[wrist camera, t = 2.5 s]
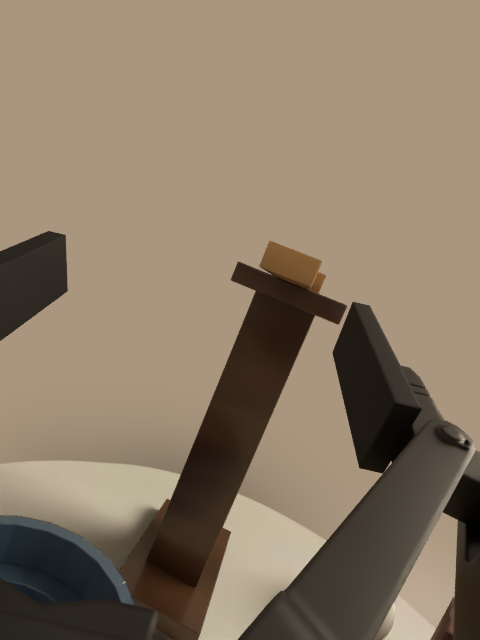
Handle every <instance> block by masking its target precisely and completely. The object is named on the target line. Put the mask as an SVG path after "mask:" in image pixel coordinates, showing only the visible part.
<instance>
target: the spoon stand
mask: <svg viewBox="0 0 480 640" xmlns="http://www.w3.org/2000/svg"><path fill="white" fill-rule="evenodd" d="M231 280H232V281H234V282H236V283H239V284H241V285H243V286H246V287H248V288H251V289H253V290H255V291H256V292H255V294H254V297H253V299H252V302H251V304H250V306H249V309H248V312H247V314H246V316H245V319H244V321H243V324H242V326H241V329H240V331H239V334H238V336H237V338H236V341H235V343H234V346H233V348H232V351H231V353H230V356H229V358H228V361H227V363H226V365H225V368H224V370H223V373H222V375H221V378H220V380H219V383H218V385H217V387H216V390H215V392H214V395H213V397H212V400H211V402H210V405H209V407H208V410H207V412H206V414H205V417H204V419H203V422H202V424H201V427H200V429H199V432H198V434H197V436H196V439H195V442H194V444H193V446H192V449H191V451H190V454H189V456H188V459H187V461H186V464H185V466H184V468H183V471H182V473H181V476H180V478H179V481H178V483H177V485H176V488H175V490H174V493H173V495H172V498H171V500H168V499H166V501H165V502H164V504H163V505H162V507H161V508H160V510H159V511H158V513H157V514H156V516H155V517H154V519H153V520H152V522H151V524H150V525H149V527H148V528H147V530H146V531H145V533H144V534H143V536H142V537H141V539H140V540H139V542H138V543H137V545H136V546H135V548H134V549H133V551H132V552H131V554H130V555H129V557H128V558H127V560H126V561H125V563H124V564H123V566H122V567H121V569H120V570H119V573H120V575H121V576H122V577H123V579H124V580H125V583H126V584H127V587H128V589H129V592H130V594H131V597H132V600H133V602H134V605H135V606H140V607H144V608H149V609H153V610H157V611H159V614H158V619H157V624H156V628H157V629H159V630H160V631H162V632H163V633H165V634H166V635H168V636H169V637H170V638H171V639H173V640H198V638H199V636H200V633H201V629H202V626H203V623H204V620H205V616H206V613H207V610H208V606H209V603H210V600H211V596H212V593H213V590H214V586H215V583H216V580H217V577H218V573H219V570H220V567H221V563H222V560H223V557H224V553H225V550H226V547H227V544H228V540H229V537H230V534H231V532H230V531H228V530H226V529H224V528H223V525H224V523H225V521H226V518H227V516H228V514H229V511H230V509H231V507H232V505H233V502H234V500H235V498H236V495H237V493H238V491H239V488H240V486H241V484H242V482H243V479H244V477H245V475H246V472H247V470H248V468H249V466H250V463H251V461H252V459H253V456H254V454H255V452H256V450H257V447H258V445H259V443H260V440H261V438H262V436H263V433H264V431H265V429H266V426H267V424H268V422H269V420H270V417H271V415H272V413H273V411H274V408H275V406H276V404H277V402H278V399H279V397H280V394H281V392H282V390H283V388H284V385H285V383H286V381H287V379H288V376H289V374H290V372H291V369H292V367H293V365H294V363H295V360H296V358H297V356H298V353H299V351H300V349H301V347H302V344H303V342H304V340H305V337H306V335H307V333H308V331H309V328H310V326H311V324H312V321H313V319H314V317H315V315H316V316H319V317H321V318H323V319H326V320H328V321H331V322H333V323H335V324H339V323H340V321H341V319H342V317H343V315H344V312H345V310H346V308H347V306H346V305H344V304H342V303H339V302H337V301H335V300H332V299H330V298H327V297H325V296H322V295H320V294H317V293H315V292H312V291H310V290H307V289H305V288H303V287H300V286H298V285H295V284H293V283H290V282H288V281H285V280H283V279H280V278H278V277H275V276H273V275H270V274H268V273H265V272H263V271H260V270H258V269H255V268H253V267H251V266H248V265H246V264H243V263H241V262H238V263H237V265H236V268H235V270H234V273H233V275H232V278H231Z"/></svg>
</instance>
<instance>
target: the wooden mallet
mask: <svg viewBox="0 0 480 640" xmlns="http://www.w3.org/2000/svg"><path fill="white" fill-rule="evenodd" d="M321 263H322V261H321V260H318V259H316V258H313V257H310V256H308V255H305V254H303V253H300V252H298V251H295V250H293V249H290V248H287V247H285V246H282V245H280V244H277V243H275V242H272V241H269V243H268V246H267V248H266V251H265V253H264V256H263V258H262V261H261V263H260V267H261V268H262V269H264V270H266V271H267V272H269V273H271V274H272V275H273V276H275V277H278V278H280V279H283V280H285V281H288V282H290V283H293V284H295V285H298V286H300V287H303V288H305V289H307V290H310V291H312V292H315V293H317V294H318V293H319V291H320V289H321V286H322V284H323V282H324V280H325V277H326V275H324V274H321V273H319V272H318V270H319V268H320V265H321Z"/></svg>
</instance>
